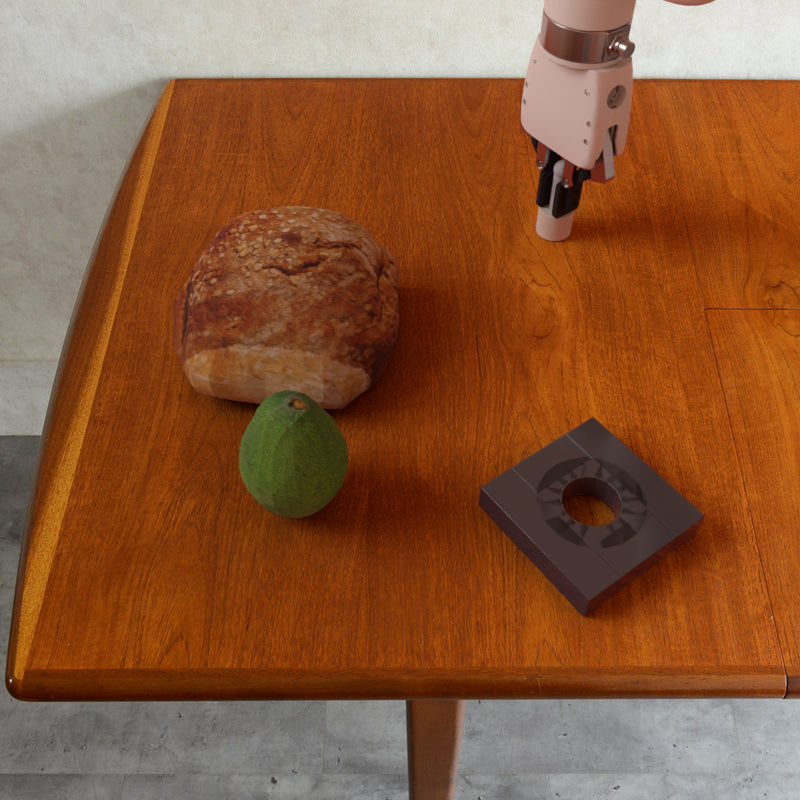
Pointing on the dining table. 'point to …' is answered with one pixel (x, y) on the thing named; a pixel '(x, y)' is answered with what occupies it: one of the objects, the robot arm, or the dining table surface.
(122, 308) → the dining table surface
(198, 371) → the bread
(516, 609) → the dining table surface
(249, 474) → the fruit
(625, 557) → the sink plate
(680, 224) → the dining table surface
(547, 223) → the stopper
